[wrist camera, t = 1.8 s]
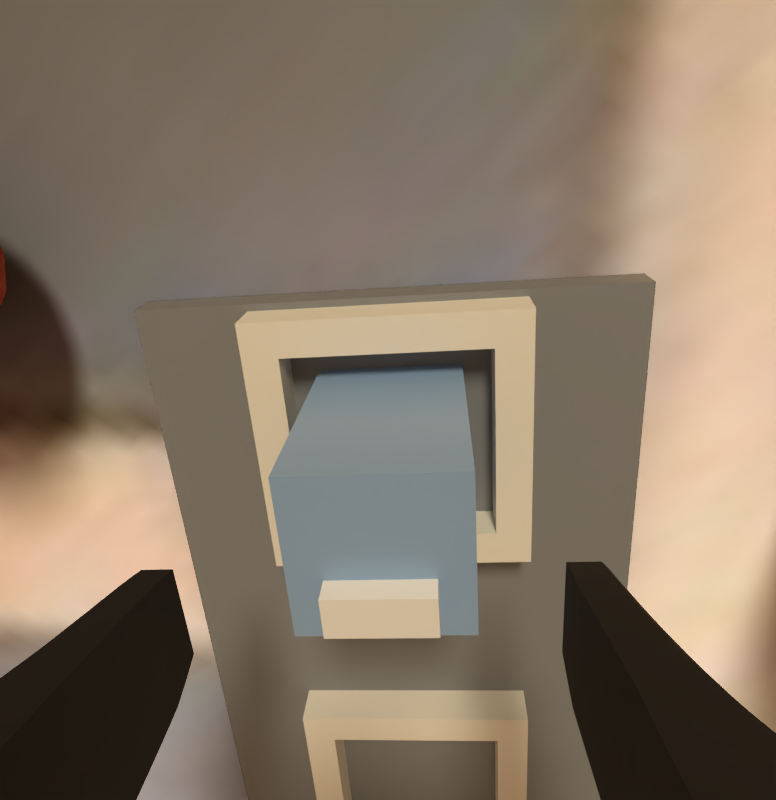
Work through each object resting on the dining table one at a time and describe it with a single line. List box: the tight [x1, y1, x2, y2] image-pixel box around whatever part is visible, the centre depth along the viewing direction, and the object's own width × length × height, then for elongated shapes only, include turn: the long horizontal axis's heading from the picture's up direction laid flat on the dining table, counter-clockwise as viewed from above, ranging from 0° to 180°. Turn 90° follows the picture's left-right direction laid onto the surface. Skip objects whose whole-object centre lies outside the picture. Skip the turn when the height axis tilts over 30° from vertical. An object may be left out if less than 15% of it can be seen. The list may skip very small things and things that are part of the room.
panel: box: [134, 274, 656, 800], centre depth 21 cm, size 14×22×2 cm, turn 4°
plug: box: [268, 364, 479, 639], centre depth 15 cm, size 4×4×7 cm
